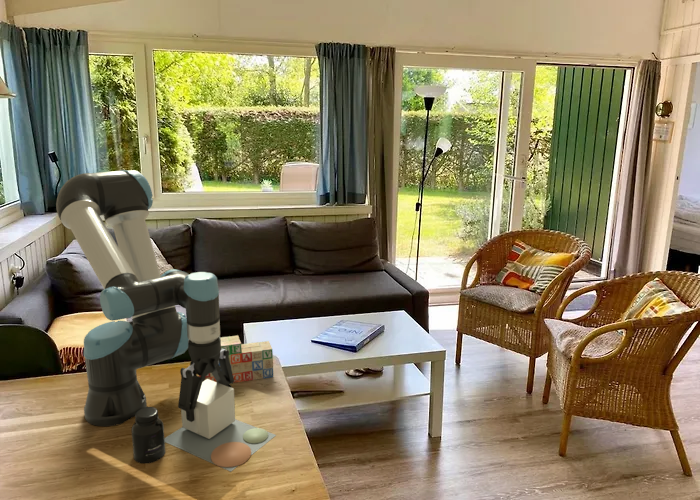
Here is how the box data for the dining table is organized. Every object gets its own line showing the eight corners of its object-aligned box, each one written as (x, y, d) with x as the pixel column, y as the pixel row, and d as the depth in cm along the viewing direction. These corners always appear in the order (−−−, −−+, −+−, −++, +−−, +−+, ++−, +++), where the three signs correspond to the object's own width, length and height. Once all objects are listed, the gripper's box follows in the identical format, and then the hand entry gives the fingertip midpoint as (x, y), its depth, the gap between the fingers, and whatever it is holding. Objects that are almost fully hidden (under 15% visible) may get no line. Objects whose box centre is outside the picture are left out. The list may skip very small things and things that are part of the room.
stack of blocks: (270, 368, 169) (269, 331, 166) (273, 377, 164) (272, 339, 160) (198, 378, 163) (195, 339, 160) (199, 388, 157) (196, 348, 154)
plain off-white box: (182, 427, 135) (180, 394, 132) (208, 410, 142) (207, 378, 140) (209, 439, 130) (207, 405, 128) (235, 420, 138) (233, 388, 135)
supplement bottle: (155, 470, 122) (151, 422, 119) (128, 466, 123) (123, 418, 120) (171, 451, 128) (167, 405, 125) (145, 447, 130) (140, 402, 127)
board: (161, 444, 131) (160, 425, 130) (210, 413, 144) (209, 395, 143) (232, 477, 120) (231, 456, 119) (278, 440, 133) (277, 421, 132)
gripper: (180, 359, 119) (186, 449, 125) (247, 325, 137) (249, 405, 143) (156, 350, 123) (163, 438, 129) (224, 319, 141) (228, 397, 147)
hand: (208, 421), depth 136 cm, fingers closed on plain off-white box, 9 cm apart
